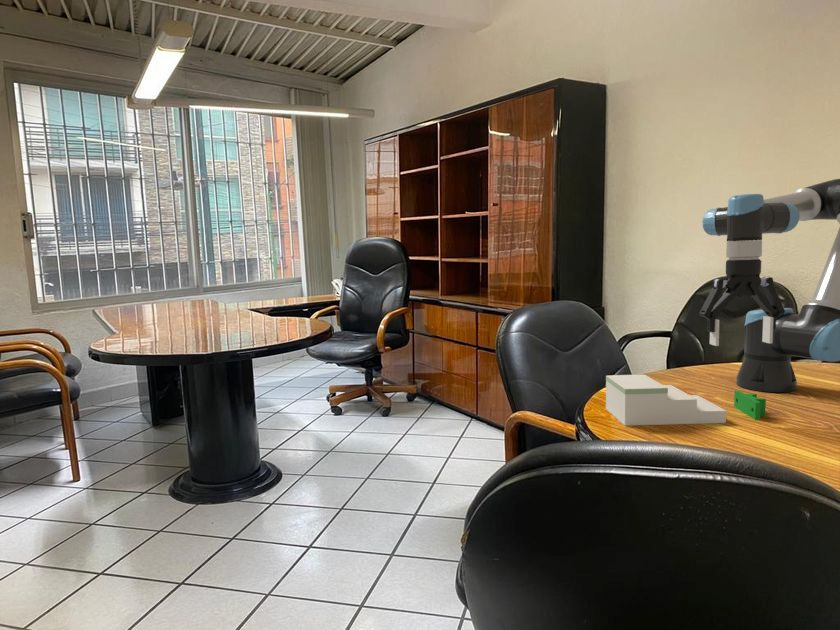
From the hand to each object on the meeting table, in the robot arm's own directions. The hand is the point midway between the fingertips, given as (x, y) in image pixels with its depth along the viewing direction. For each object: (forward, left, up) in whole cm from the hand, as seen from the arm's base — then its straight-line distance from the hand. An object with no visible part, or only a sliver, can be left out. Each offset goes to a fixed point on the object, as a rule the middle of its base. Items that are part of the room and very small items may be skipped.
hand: (740, 343), depth 135 cm
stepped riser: (+20, +1, -18) cm, 26 cm away
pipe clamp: (-3, +1, -18) cm, 18 cm away
